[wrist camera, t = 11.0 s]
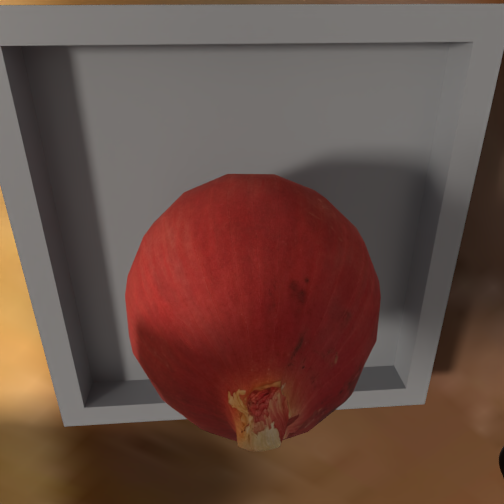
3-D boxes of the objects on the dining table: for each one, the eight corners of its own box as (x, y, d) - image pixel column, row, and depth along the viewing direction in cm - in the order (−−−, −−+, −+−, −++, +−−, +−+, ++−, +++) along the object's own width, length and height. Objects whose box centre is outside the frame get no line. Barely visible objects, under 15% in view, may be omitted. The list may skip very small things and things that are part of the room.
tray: (-11, 7, 11) (-48, 5, 10) (474, 5, 12) (514, 3, 11) (78, 388, 17) (64, 426, 16) (405, 370, 18) (424, 404, 16)
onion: (374, 235, 14) (528, 440, 7) (244, 343, 16) (266, 601, 9) (245, 97, 12) (284, 195, 5) (109, 237, 14) (-5, 462, 7)
